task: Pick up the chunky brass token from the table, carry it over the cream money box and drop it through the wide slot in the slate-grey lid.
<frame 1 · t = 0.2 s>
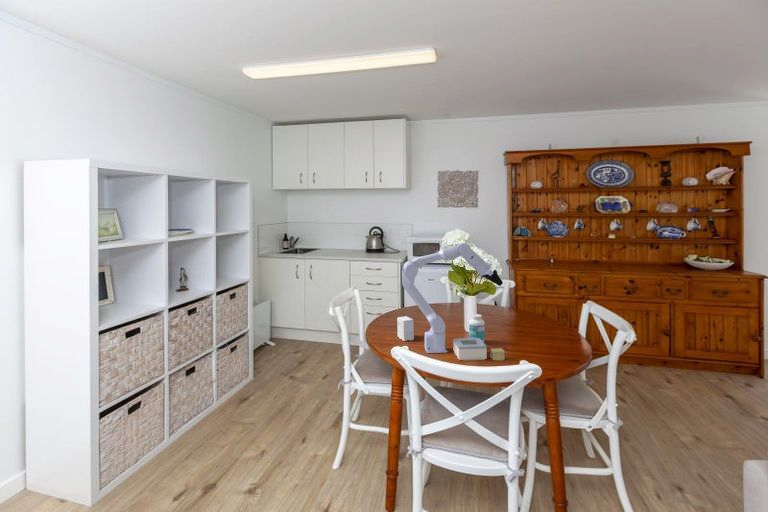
hand: (498, 283, 191), 31 cm above the table, tool tilted 45°, fingers open, 7 cm apart
money box: (469, 355, 186), on the table
small box: (405, 339, 212), on the table
pill bottle: (476, 342, 204), on the table
token: (497, 358, 182), on the table
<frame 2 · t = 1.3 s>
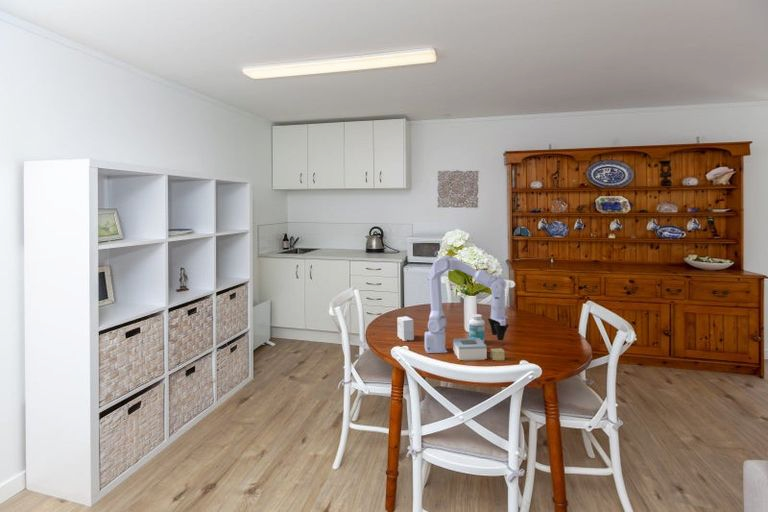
hand: (497, 337, 181), 9 cm above the table, tool pointing down, fingers open, 7 cm apart
nothing on the table moved.
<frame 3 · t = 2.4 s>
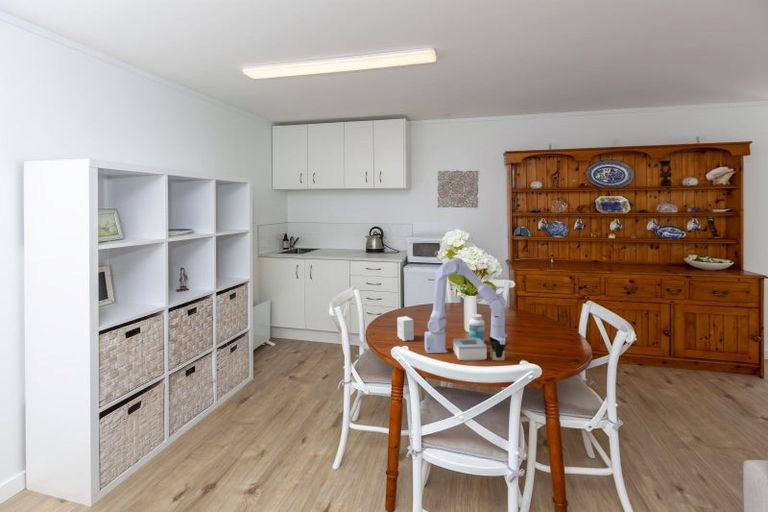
hand: (497, 355, 182), 1 cm above the table, tool pointing down, fingers closed on token, 4 cm apart
token: (497, 358, 182), on the table, touching gripper
everything else where it was.
when the fingers open (7 cm above the table, at t = 6.1 s): token drops 5 cm, resting on money box.
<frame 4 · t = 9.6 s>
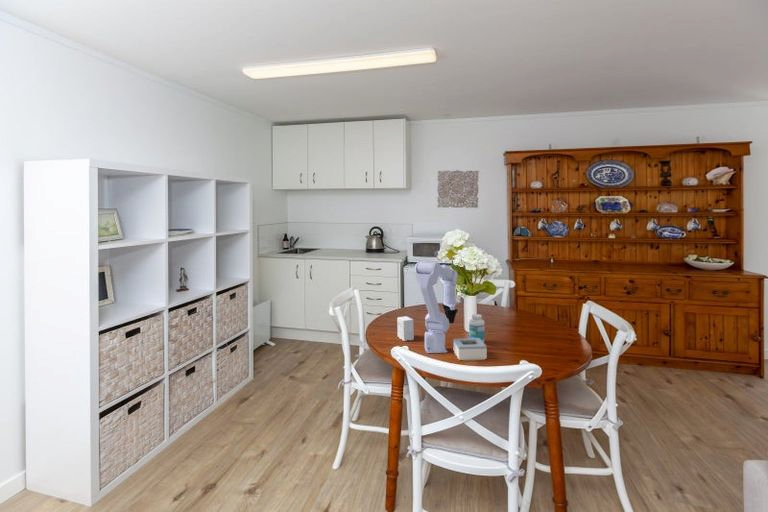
hand: (449, 320, 205), 10 cm above the table, tool pointing down, fingers open, 7 cm apart
token: (469, 354, 186), point 1 cm above the table, touching money box
everything else where it was.
at the end: token inside the target area on the money box (0.1 cm from its centre), point 0.6 cm above the money box's base; the gripper is holding nothing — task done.
